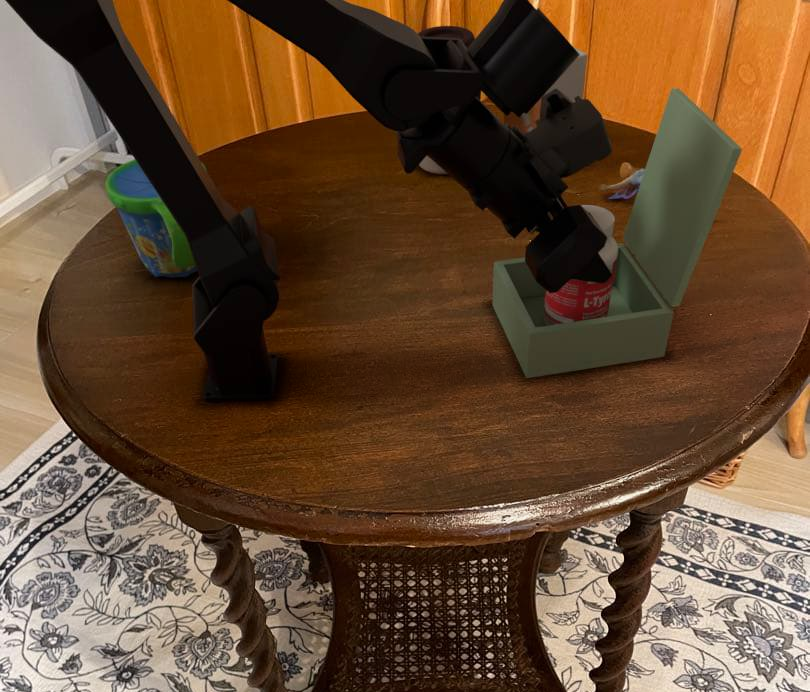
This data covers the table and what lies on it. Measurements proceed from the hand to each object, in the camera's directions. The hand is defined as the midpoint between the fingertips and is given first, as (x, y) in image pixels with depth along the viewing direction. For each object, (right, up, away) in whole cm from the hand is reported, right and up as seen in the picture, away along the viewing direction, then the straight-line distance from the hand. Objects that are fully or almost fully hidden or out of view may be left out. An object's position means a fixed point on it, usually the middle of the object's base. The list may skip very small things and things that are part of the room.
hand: (595, 260), depth 80 cm
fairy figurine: (+12, +13, +21) cm, 27 cm away
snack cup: (-43, +5, +18) cm, 47 cm away
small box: (-1, +23, +31) cm, 38 cm away
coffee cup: (-12, +23, +31) cm, 41 cm away
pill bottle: (-1, -5, +5) cm, 7 cm away
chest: (-1, -5, +5) cm, 8 cm away
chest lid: (+6, +4, -3) cm, 8 cm away
